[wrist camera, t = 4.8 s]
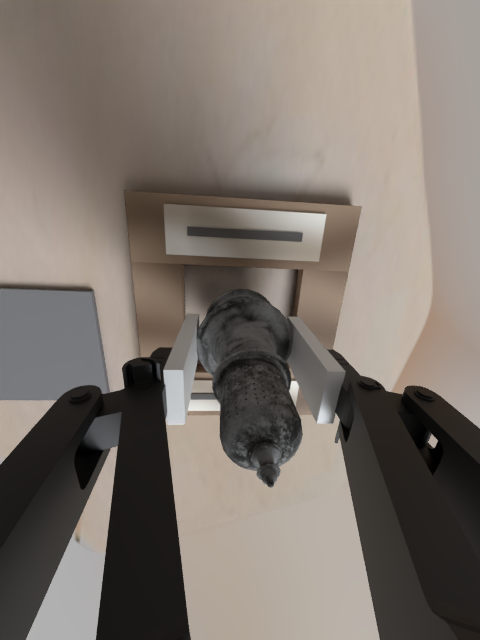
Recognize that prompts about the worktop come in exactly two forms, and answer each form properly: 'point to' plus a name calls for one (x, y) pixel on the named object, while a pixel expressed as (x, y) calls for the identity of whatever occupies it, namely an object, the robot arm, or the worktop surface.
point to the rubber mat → (49, 343)
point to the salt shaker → (251, 380)
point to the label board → (235, 263)
